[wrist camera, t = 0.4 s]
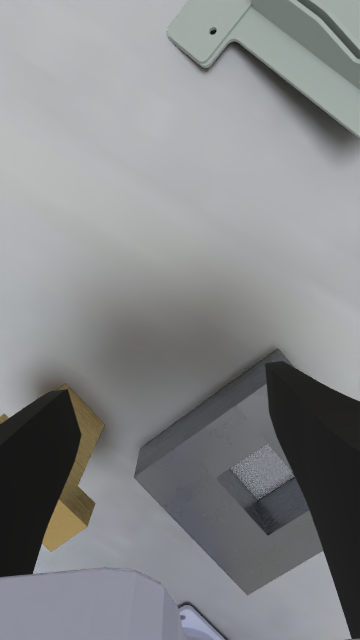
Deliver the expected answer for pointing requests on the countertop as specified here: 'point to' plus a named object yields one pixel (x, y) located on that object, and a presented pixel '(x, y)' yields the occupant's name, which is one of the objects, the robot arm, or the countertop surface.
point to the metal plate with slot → (230, 484)
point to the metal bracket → (284, 44)
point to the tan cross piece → (73, 481)
